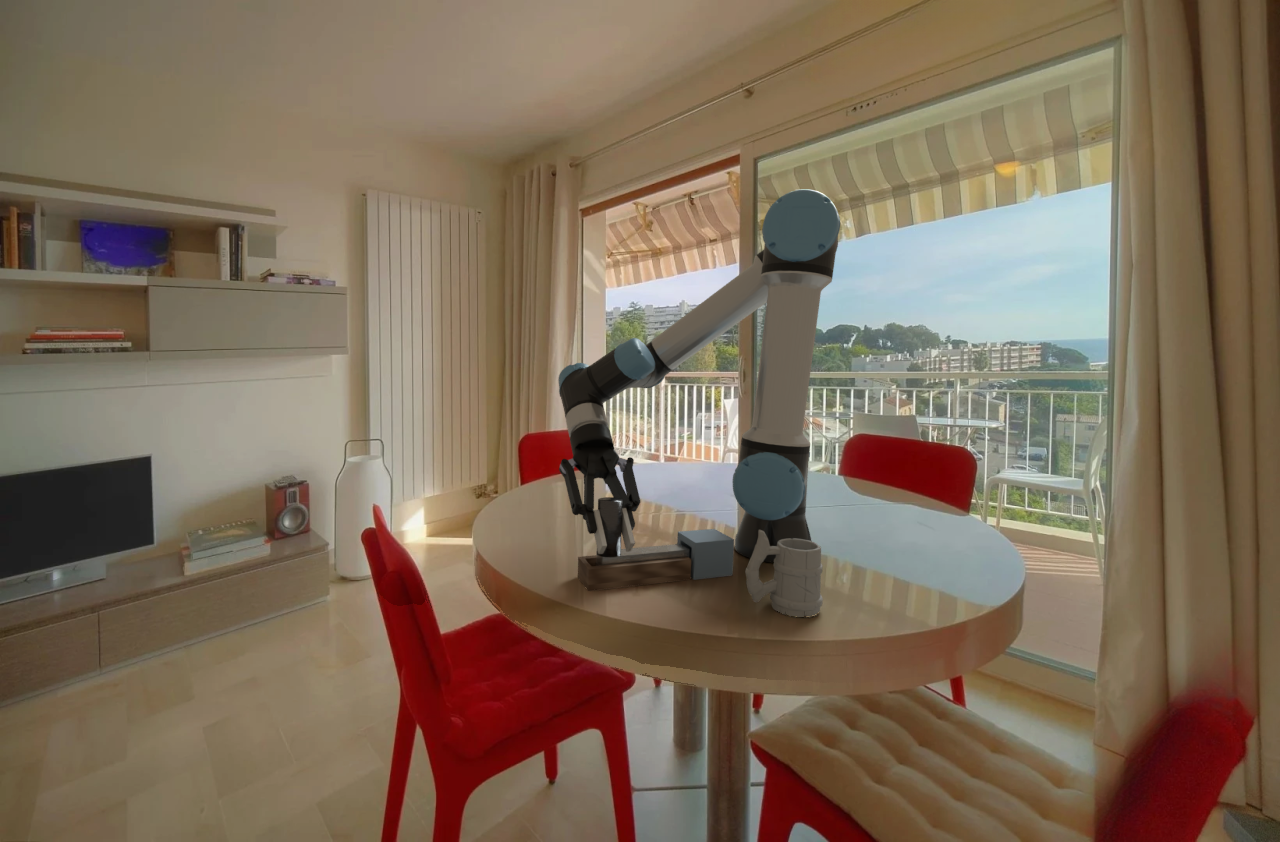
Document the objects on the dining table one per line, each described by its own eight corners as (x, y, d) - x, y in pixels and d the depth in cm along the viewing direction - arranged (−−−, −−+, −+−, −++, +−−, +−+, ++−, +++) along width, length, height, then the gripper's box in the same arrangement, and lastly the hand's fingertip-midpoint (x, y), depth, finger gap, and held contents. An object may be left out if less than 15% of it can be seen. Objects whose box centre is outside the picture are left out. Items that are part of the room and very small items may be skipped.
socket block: (712, 562, 104) (714, 528, 103) (732, 575, 97) (734, 539, 97) (676, 566, 101) (677, 531, 101) (693, 579, 95) (695, 542, 94)
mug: (831, 618, 81) (836, 537, 80) (753, 620, 79) (757, 538, 78) (808, 597, 89) (812, 523, 88) (736, 599, 87) (740, 523, 86)
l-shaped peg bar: (679, 562, 100) (682, 493, 99) (689, 569, 96) (692, 498, 95) (593, 570, 94) (595, 497, 93) (600, 579, 90) (602, 503, 89)
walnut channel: (674, 567, 101) (675, 548, 100) (690, 579, 95) (691, 559, 94) (577, 577, 94) (578, 556, 94) (588, 591, 88) (588, 569, 88)
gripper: (627, 445, 108) (658, 555, 94) (540, 447, 102) (559, 564, 88) (638, 420, 103) (673, 532, 89) (547, 420, 97) (569, 541, 83)
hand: (616, 548), depth 89 cm, fingers closed on l-shaped peg bar, 4 cm apart
